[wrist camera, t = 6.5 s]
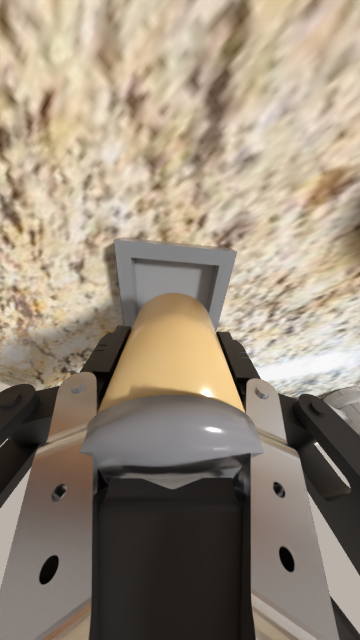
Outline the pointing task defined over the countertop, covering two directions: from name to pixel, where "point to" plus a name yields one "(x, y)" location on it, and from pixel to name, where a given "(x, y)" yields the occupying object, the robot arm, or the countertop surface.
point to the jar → (171, 402)
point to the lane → (171, 274)
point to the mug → (346, 405)
